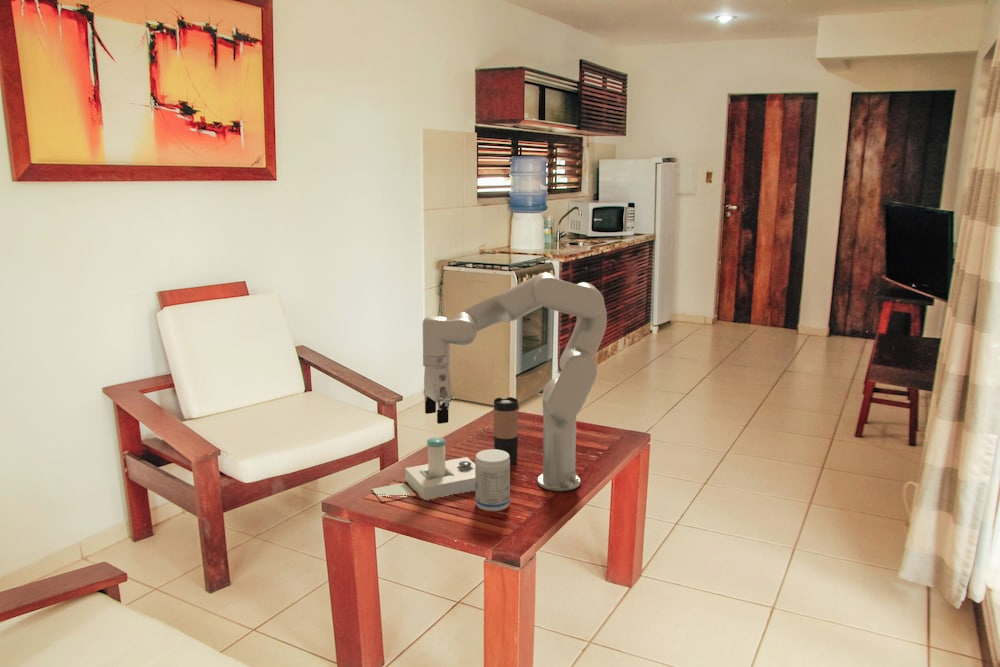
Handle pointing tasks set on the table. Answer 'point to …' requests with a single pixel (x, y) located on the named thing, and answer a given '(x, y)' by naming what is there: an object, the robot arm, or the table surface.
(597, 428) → the table surface
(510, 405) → the travel mug
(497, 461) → the supplement tub
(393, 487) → the mat
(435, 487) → the housing
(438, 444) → the cartridge
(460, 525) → the table surface
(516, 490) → the table surface
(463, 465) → the plunger
